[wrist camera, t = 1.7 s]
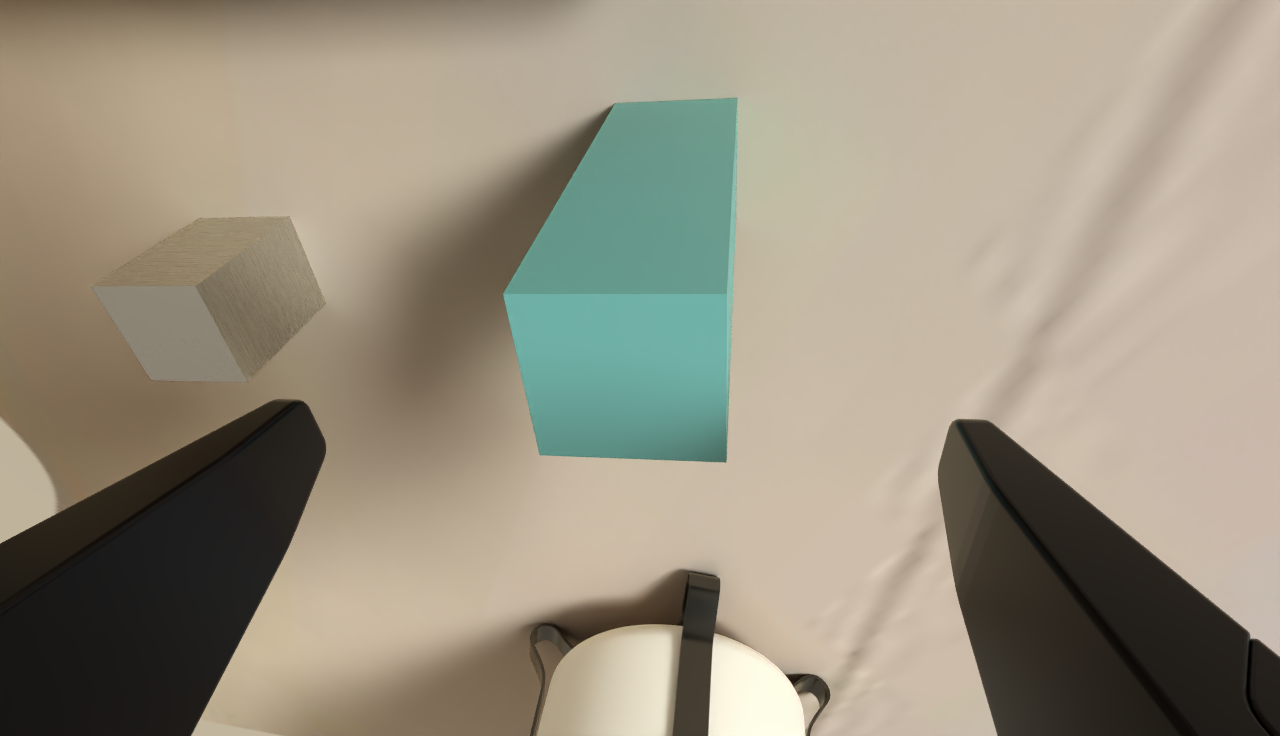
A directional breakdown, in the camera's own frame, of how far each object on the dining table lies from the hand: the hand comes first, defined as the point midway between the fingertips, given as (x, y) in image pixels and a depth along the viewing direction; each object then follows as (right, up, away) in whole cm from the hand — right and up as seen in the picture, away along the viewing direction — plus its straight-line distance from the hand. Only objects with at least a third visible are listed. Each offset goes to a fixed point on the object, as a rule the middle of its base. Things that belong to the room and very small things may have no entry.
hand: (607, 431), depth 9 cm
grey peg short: (-12, +5, +13) cm, 18 cm away
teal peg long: (+2, +7, +9) cm, 11 cm away
